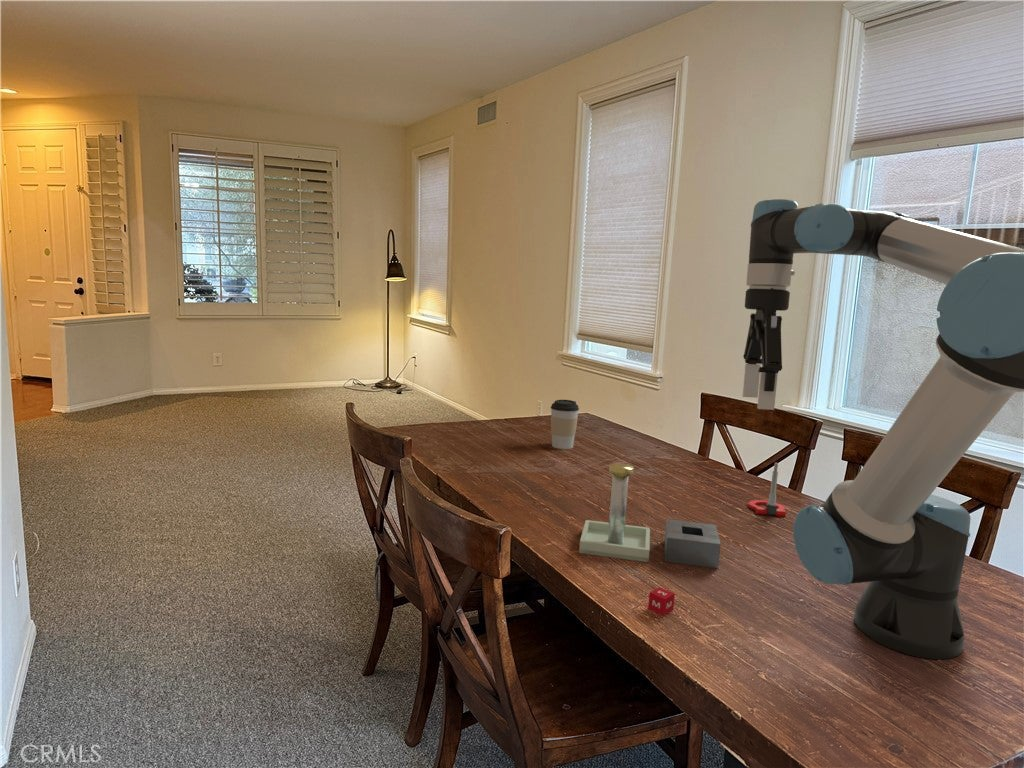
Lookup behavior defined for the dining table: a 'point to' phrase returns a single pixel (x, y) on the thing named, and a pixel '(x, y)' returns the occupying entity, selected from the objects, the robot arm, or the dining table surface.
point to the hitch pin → (618, 501)
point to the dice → (661, 601)
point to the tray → (631, 549)
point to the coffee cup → (563, 423)
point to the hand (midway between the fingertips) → (757, 402)
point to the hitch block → (692, 543)
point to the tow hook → (770, 500)
